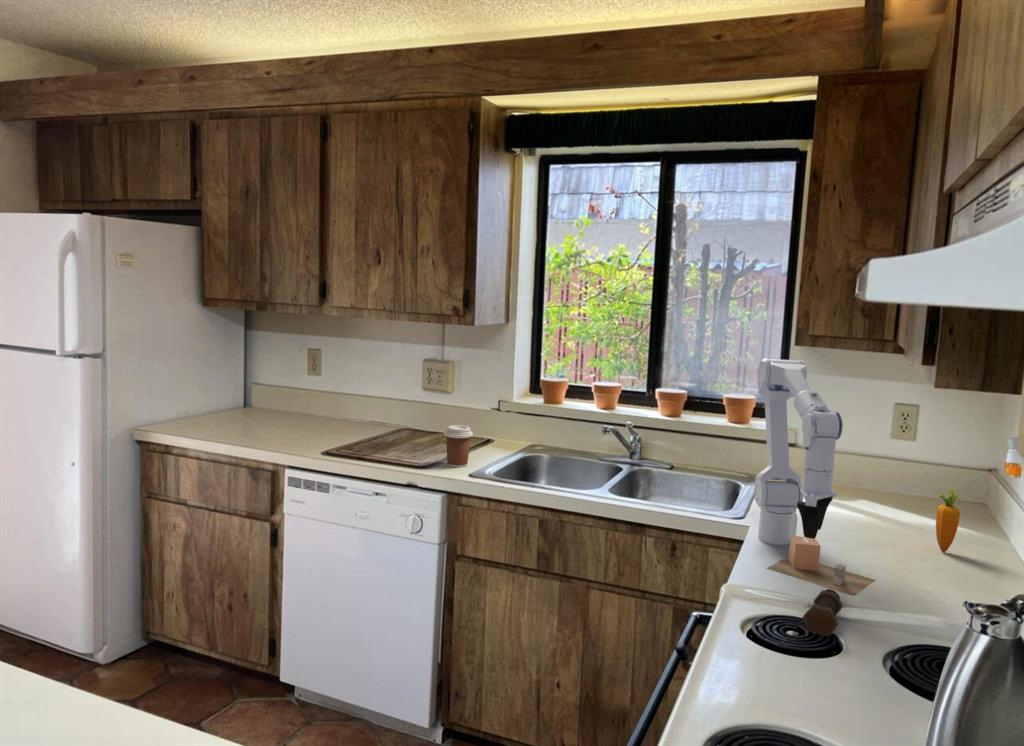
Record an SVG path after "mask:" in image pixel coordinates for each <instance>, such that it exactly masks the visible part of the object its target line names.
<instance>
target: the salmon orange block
mask: <svg viewBox="0 0 1024 746" xmlns="http://www.w3.org/2000/svg"><path fill="white" fill-rule="evenodd" d="M821 547H822V545H820V543H819V542H818V540H817V539H816V538H815V539H812V538H807V537H804V536H798V535H796V536H791V539H790V543H789V551H788V556H789V558H788V560H789V562H790V564H791V565H792V567H793V568H795V569H805V570H815V571H818V565H819V564H820V553H821Z"/></svg>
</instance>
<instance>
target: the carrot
mask: <svg viewBox="0 0 1024 746" xmlns="http://www.w3.org/2000/svg"><path fill="white" fill-rule="evenodd" d="M938 496H939V497H940V498H941V499H943V501H944V503H945V504H940V505H938V508H937V509H936V510H937V511H936V516H935V533H936V541H937V544H938V547H939V549H940V551H941V552H942V553H943V552H944V553H946V552H947V551H948V549H949V548H950V547H951V545H952V544H953V542H954V539H955V537H956V534H957V531H958V528H959V522H960V516H961V510H960V508H958V507H956V506H954V503H955V502H956V500H957V498H958V495H957V494H956V493H954V491H953V490H952V489H949V490H948V497H946V496H945V495H943V494H942V493H940V494H938Z"/></svg>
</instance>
